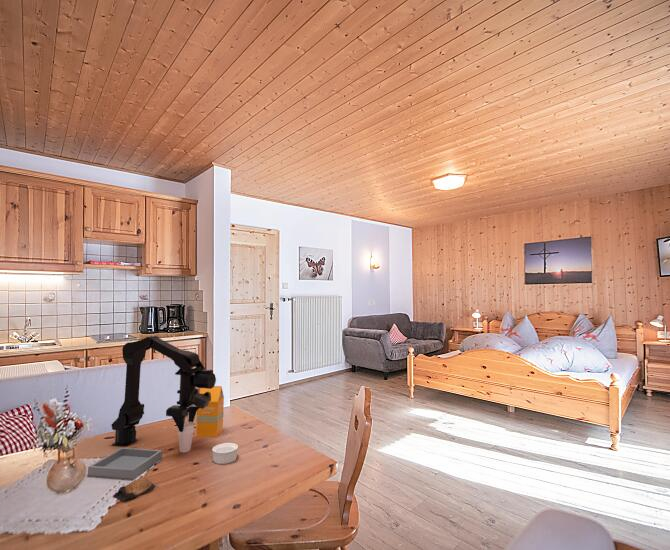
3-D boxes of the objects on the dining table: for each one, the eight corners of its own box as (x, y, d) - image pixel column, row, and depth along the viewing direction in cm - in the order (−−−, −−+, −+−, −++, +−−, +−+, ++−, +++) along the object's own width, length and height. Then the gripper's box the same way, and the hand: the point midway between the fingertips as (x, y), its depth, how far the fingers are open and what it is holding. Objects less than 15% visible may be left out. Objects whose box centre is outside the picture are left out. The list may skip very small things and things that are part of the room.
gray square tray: (87, 476, 117) (88, 466, 117) (121, 456, 132) (122, 447, 132) (132, 480, 115) (132, 470, 115) (161, 459, 130) (162, 450, 130)
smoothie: (187, 454, 134) (189, 415, 135) (172, 453, 135) (173, 414, 136) (197, 447, 140) (199, 410, 141) (182, 446, 141) (184, 409, 142)
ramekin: (207, 459, 130) (207, 447, 131) (229, 452, 137) (229, 440, 137) (220, 467, 124) (220, 454, 125) (242, 459, 131) (243, 447, 131)
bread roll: (142, 482, 115) (143, 470, 115) (161, 488, 111) (161, 476, 111) (109, 498, 105) (109, 485, 105) (127, 505, 101) (128, 491, 102)
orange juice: (216, 437, 151) (218, 388, 153) (195, 437, 151) (197, 388, 153) (222, 430, 159) (224, 384, 161) (202, 430, 159) (204, 383, 161)
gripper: (195, 393, 129) (193, 439, 128) (218, 382, 148) (217, 421, 146) (166, 392, 131) (164, 437, 129) (192, 381, 149) (191, 420, 148)
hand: (186, 428), depth 138 cm, fingers closed on smoothie, 6 cm apart
